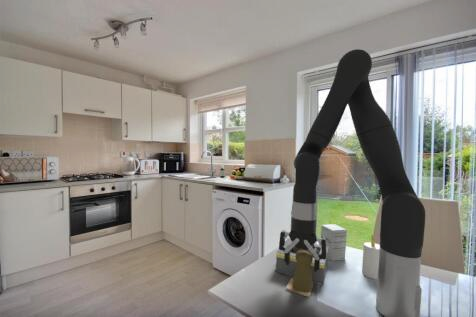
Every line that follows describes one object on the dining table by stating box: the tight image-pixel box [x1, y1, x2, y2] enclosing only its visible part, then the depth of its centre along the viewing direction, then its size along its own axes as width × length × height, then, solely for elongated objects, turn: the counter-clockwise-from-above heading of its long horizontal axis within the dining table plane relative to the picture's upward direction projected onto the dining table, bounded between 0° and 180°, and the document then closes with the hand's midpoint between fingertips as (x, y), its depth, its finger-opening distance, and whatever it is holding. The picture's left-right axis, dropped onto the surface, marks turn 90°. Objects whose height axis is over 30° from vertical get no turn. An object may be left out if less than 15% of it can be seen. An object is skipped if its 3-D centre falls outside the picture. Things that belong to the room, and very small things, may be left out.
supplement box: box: [320, 223, 348, 262], centre depth 96 cm, size 7×7×13 cm
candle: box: [361, 233, 380, 280], centre depth 83 cm, size 6×6×15 cm
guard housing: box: [275, 237, 329, 286], centre depth 85 cm, size 16×17×7 cm
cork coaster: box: [285, 276, 314, 298], centre depth 72 cm, size 7×7×1 cm
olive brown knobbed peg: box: [293, 250, 313, 292], centre depth 72 cm, size 6×6×11 cm
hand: (301, 267), depth 72 cm, fingers open, 8 cm apart
